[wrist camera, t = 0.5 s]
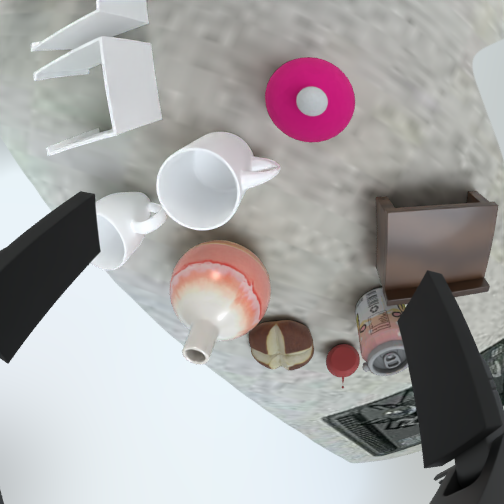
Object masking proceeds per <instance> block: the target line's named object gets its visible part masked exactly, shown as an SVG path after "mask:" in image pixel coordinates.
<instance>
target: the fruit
mask: <svg viewBox="0 0 504 504" xmlns="http://www.w3.org/2000/svg"><path fill="white" fill-rule="evenodd" d="M359 362H360V358H359V354H358V352H357V350H356V349H355V348H354V347H352V346H350V345H347V344H340V345H337V346H335V347H333V348H332V349H331V350H330V351H329V353H328V355H327V358H326V365H327V368H328V370H329V371H330V372H331V373H332V374H333V375H335V376H337V377H342V381H344V377H347V376H350V375H351V374H353V373H354V372H355V371H356V370H357V368H358V366H359ZM342 388H344V386H342Z"/></svg>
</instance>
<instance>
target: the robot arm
mask: <svg viewBox="0 0 504 504" xmlns="http://www.w3.org/2000/svg"><path fill="white" fill-rule="evenodd" d="M100 252H101V250H100V242H99V234H98V225H97V215H96V203H95V194H92V193H87V192H81V191H80V192H79V193H77V194H76V195H74V196H73V197H72V198H70V199H69V200H67V201H66V202H64V203H63V204H62V205H60V206H59V207H57V208H56V209H55V210H53V211H52V212H51V213H49V214H48V215H46V216H45V217H44V218H42V219H41V220H40V221H39V222H37V223H36V224H35V225H33V226H32V227H31V228H30V229H28V230H27V231H26V232H24V233H23V234H22V235H21V236H20V237H18V238H17V239H16V240H15V241H14V242H12V243H11V244H10V245H9V246H8V247H6V248H4V249H3V250H1V251H0V358H1V359H2V360H4V361H5V362H6V363H9V362H10V360H11V359H12V358H13V356H14V355H15V353H16V352H17V351H18V349H19V348H20V347H21V345H22V344H23V342H24V341H25V340H26V339H27V337H28V336H29V335H30V333H31V332H32V331H33V329H34V328H35V327H36V325H37V324H38V323H39V322H40V321H41V319H42V318H43V317H44V316H45V314H46V313H47V312H48V311H49V309H50V308H51V307H52V306H53V304H54V303H55V302H56V301H57V300H58V298H59V297H60V296H61V295H62V294H63V293H64V291H65V290H66V289H67V288H68V287H69V286H70V285H71V284H72V282H73V281H74V280H75V279H76V278H77V277H78V276H79V275H80V273H81V272H82V271H83V270H84V269H85V268H86V267H87V265H89V263H91V261H92V260H93V259H94V258H95V257H96V256H97V255H98V254H99V253H100ZM397 322H398V326H399V330H400V334H401V338H402V342H403V346H404V350H405V354H406V358H407V363H408V367H409V372H410V377H411V382H412V387H413V392H414V397H415V403H416V409H417V415H418V421H419V428H420V435H421V443H422V452H423V461H424V468H430V467H437V466H443V465H444V464H446V463H447V462H449V461H451V460H453V459H454V458H455V465H454V466H452V467H450V468H449V469H447V470H445V471H443V472H441V473H440V474H438V475H437V476H436V477H435V478H434V480H438V479H439V478H442V477H443V476H445V475H446V476H445V478H444V479H443V480H441V481H440V482H439V484H441V485H440V487H439V489H438V491H437V492H436V494H435V496H434V497H433V499H432V501H431V502H430V504H504V410H503V406H502V403H501V400H500V397H499V394H498V390H496V385H495V382H494V380H493V376H492V373H491V371H490V368H489V365H488V364H487V362H486V361H485V359H484V358H483V357H482V355H481V354H479V351H478V349H477V346H476V344H475V341H474V339H473V337H472V334H471V332H470V330H469V328H468V325H467V323H466V321H465V319H464V317H463V314H462V312H461V310H460V308H459V306H458V304H457V302H456V300H455V298H454V296H453V294H452V292H451V290H450V288H449V286H448V284H447V282H446V280H445V278H444V277H443V275H442V274H440V273H437V272H433V271H429V270H427V272H426V273H425V275H424V277H423V279H422V281H421V282H420V284H419V286H418V288H417V289H416V291H415V293H414V295H413V296H412V298H411V300H410V301H409V303H408V305H407V306H406V308H405V310H404V311H403V313H402V314H401V316H400V318H399V319H398V321H397ZM0 504H4V502H3V499H2V495H1V491H0Z"/></svg>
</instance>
